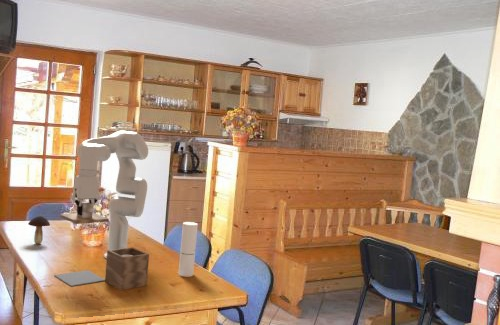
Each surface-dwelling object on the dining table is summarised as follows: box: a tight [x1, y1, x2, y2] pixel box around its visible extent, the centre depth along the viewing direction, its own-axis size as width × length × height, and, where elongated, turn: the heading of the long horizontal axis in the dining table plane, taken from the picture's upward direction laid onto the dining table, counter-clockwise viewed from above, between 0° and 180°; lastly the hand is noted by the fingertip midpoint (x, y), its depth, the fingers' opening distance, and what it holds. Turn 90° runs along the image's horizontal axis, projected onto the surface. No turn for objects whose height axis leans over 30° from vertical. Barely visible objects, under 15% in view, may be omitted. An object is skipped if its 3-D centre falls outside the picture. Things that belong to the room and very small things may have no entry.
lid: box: [60, 201, 110, 225], centre depth 225 cm, size 15×15×7 cm
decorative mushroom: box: [28, 216, 51, 245], centre depth 276 cm, size 11×11×15 cm
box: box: [104, 247, 150, 291], centre depth 226 cm, size 13×13×14 cm
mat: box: [54, 269, 105, 288], centre depth 227 cm, size 16×16×1 cm
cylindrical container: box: [178, 221, 199, 278], centre depth 247 cm, size 7×7×25 cm
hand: (84, 214), depth 225 cm, fingers closed on lid, 4 cm apart
